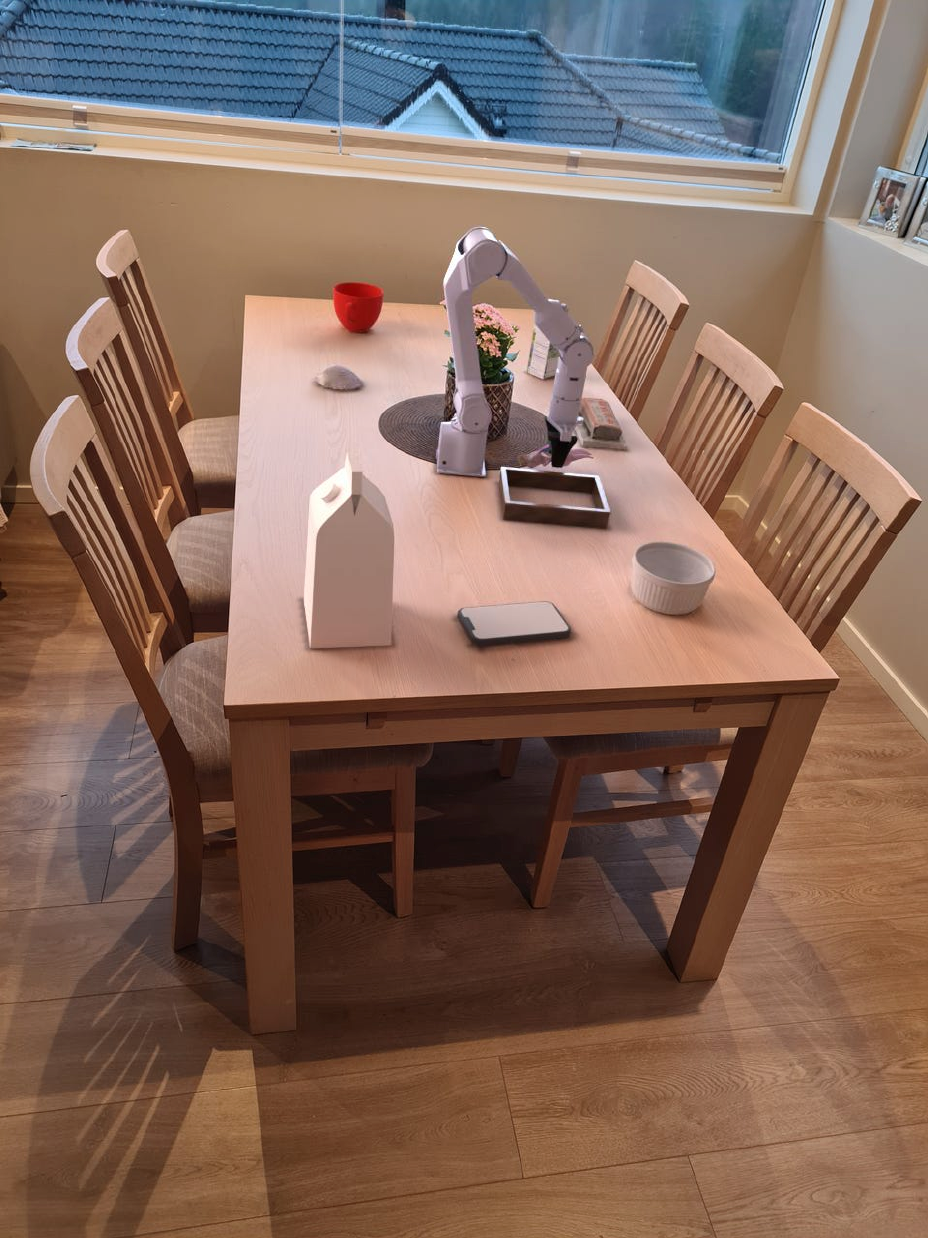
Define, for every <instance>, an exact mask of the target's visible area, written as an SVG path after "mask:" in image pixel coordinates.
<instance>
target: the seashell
mask: <svg viewBox="0 0 928 1238" xmlns="http://www.w3.org/2000/svg"><path fill="white" fill-rule="evenodd" d="M314 381H315V382H316V383H318V384H319V385H321V386H323V387H325V388H332V389H333V390H340V391H341V390H345V391H348V390H354V389H357V388H360V387H361V386H362V383H361V382H362V381H361V379H360V378H359V377H358V375H357V374H356V373H355V372H353V371H352V370H351V369H349V368H347V367H344V366H342V365H340V364H332V365H328V366H326V367H324V368H323V369H322V370H320V371H319V373H317V374H316V376H315V378H314Z"/></svg>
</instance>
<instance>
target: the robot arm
mask: <svg viewBox="0 0 928 1238" xmlns="http://www.w3.org/2000/svg"><path fill="white" fill-rule="evenodd" d="M454 250H455V251H454V254H453V257H452V259H451V261H450V263H449V266H448V268H447V271H446V273H445V275H444V278H443V280H442V281H443V283H442V288H443V294H444V301H445V308H446V315H447V322H448V328H449V338H450V345H451V351H452V352H451V353H452V359H453V366H454V367H453V368H454V373H455V379H454V382H455V389H454V392H453V396H452V403H453V406H454V409H455V411H456V412H455V413H454V415H453V416H452V418H451V420H450V421H441V422H440V424H439V425H440V427H439V435H438V444H437V449H436V451H435V459H436V472H437V473H438V474H446V475H447V474H448V475H456V476H457V475H458V476H468V477H479V478H480V477H481V478H485V477H486V475H487V474H486V463H485V455H486V447H487V441H488V432H489V425H490V424H491V422H492V419H493V418H492V417H493V413H492V410H491V408H490V406H489V404H488V402H487V399H486V394H485V391H484V386H483V381H482V375H481V366H480V358H479V350H478V343H477V342H478V341H477V333H476V325H475V317H474V316H475V315H474V308H473V300H472V294H473V293H474V292H475V291H476V290H477V288H478V287H479V286H480V285H481V284H483V283H484V282H486V281H488V280H490V279H492V278H493V277H495V278H496V279H497V280H499V281H505V282H509V283H510V284H511V285H512V286H513V287H514V288H515V290H516V291H517V292H518V293H519V294H520V295H521V296H522V298H523V299H524V300H525V301H526V303H527V304H528V305H529V307H531V308H532V310H533V311H534V313H533V323H534V325H535V324H536V325H537V327H538V328H539V329H540V330H541V332H542V333H543V334H544V335H545V337H546V338H547V339H548V340H549V342H550V343H551V344H552V345H553V347H554V348H556V349H557V352H558V353H560V355H561V356H559V360H558V366H557V370H556V374H555V376H554V380H553V381H554V382H553V387H552V392H551V398H550V404H549V409H548V413H547V415H546V416H545V417H544V422H545V425H546V429H547V430H546V431H547V441H551V450H550V451H548V452H547V453H548V455H549V454H550V456H551V462H550V464H551V467H552V468H556V469H562V468H563V465H564V463H565V461H566V458H567V456H568V454H569V452H570V450H571V449H573V447H574V446H575V445H576V444H577V443H578V441H579V437H578V435H573V432H574V431H575V429H574V428H575V427H576V425H577V424H583V418H582V417H579V416H578V414H579V409H580V404H581V398H583V393H584V388H585V384H586V383H585V382H586V379H587V370H588V367H589V366H590V365H591V364H592V363H593V361H594V359H595V357H596V356H595V354H594V346H593V344H592V343H591V341H590V340H589V338H588V337H587V336H586V334H585V333H584V328H583V327H582V325H581V324H580V323H578V324H577V323H576V322H575V320H574V319H573V318H572V316H571V315H570V314H569V311H570V308H569V307H568V305H567V304H566V303H565V302H562V303H561V302H560V300H557V299H550V298H547V297H546V295H545V294H544V292H543V291H542V289H541V288H540V287H539V285H538V284H537V282H536V281H535V280H534V279H533V277H532V276H531V275H530V273H529V272H528V271H527V269H526V267H525V266H524V265H523V264H522V262H521V261H520V259H519V258H518V257H517V255H516V254H514V252H512V250H510V248H508V247H507V245H505V243H503V241H501V240H500V239H498V240H497V237H496V235H495V234H494V232H493V231H492V230H491V229H489V228H487V227H485V226H475V227H473V228H471V229H469V230H468V231H467V232H466V233H465V234H464V235H463V236H462V237H461V239H460V240H458V242H457V243H456V246H455V249H454Z"/></svg>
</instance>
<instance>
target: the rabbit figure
mask: <svg viewBox="0 0 928 1238" xmlns="http://www.w3.org/2000/svg"><path fill="white" fill-rule="evenodd" d="M545 443H546V444H547V445H544V446H542V447H540V449H539V450H536V451H531V452H530V453H524V452H522V453H521V454H520V453H517V455H518V456H517V460H518V461H519V466H520V467H519V468H520V469H522V465H523V462H525V463H526V464H525V465H526V466H527V468H528V469H534V468H536V467H538V466H540V465H542V466H543V467H546V466H549V465H550V464H551V455H549V454H546V453H549V452H548V451H550V450H551V441H548V440H546V441H545ZM521 457H523V458H524V459H521ZM582 459H594V456H593V454H592V453H591V452H590V451H588V450H587V449H585V448H578V447H577V448H572V449H571V450H570V452H569V454H568V456H567V458H566V461H565V463H564V465H563V467H568V466H570V465H571V463H572V462H576V461H579V460H582ZM563 467H562V468H563Z"/></svg>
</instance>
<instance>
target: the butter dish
mask: <svg viewBox="0 0 928 1238" xmlns="http://www.w3.org/2000/svg"><path fill="white" fill-rule="evenodd" d="M578 416H579V417H582V418H583V424H577V425H576V427H575V428H574V431H575V433H576V436H577V438H578V440H579V442H580V444H581V446H582V447H589V448H590V447H591V448H592V447H593V448H610V449H611V448H612V449H615V448H616V449H621V450H625V451H626V450H627V448H628V443H627V441H626V440H625V438H624V437H623V430H622V427H621V426H620V424H619V422H618V420H617V418H616V416H615V414H614V412H613V410H612V407H611V406H610V403H609V402H608V401H607V400H605V399H603V398H593V397H582V398H581V404H580V409H579V414H578Z"/></svg>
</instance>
